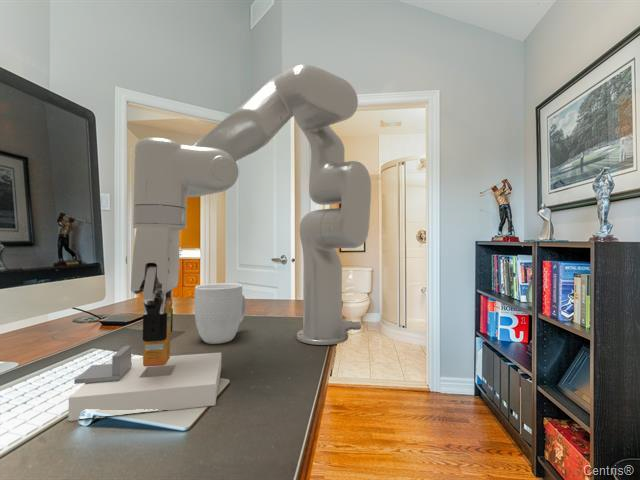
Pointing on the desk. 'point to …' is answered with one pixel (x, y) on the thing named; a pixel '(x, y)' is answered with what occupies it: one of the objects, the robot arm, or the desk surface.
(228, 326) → the mug
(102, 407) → the socket block
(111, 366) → the grey l-shaped bracket
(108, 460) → the desk surface
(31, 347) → the desk surface
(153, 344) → the supplement box
